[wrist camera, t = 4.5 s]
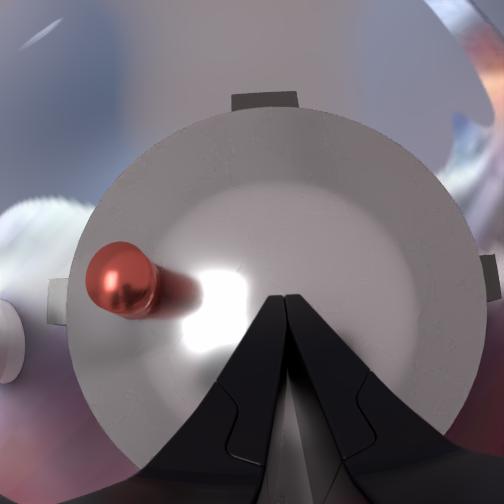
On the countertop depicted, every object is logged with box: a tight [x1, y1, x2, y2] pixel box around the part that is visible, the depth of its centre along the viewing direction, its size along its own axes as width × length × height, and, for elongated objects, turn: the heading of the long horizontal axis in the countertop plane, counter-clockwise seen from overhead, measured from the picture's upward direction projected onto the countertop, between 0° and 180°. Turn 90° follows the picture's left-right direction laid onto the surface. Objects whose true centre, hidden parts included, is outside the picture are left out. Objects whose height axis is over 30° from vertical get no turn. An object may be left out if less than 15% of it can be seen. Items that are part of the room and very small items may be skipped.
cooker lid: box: [66, 107, 487, 504], centre depth 9 cm, size 14×14×2 cm
